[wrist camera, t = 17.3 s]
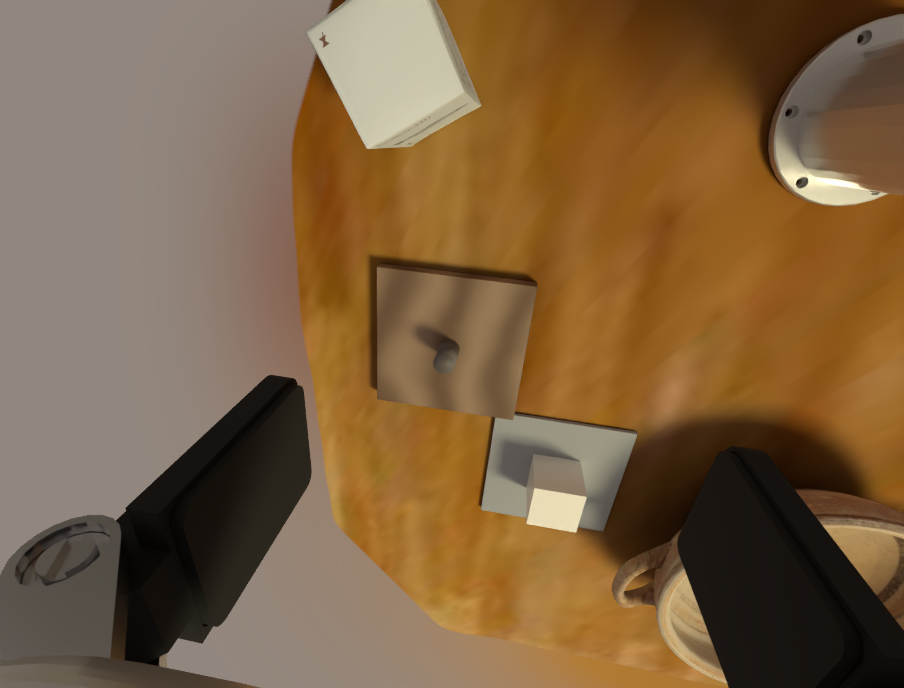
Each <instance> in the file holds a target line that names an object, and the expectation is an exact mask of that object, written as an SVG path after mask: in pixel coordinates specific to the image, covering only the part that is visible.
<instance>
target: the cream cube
mask: <svg viewBox="0 0 904 688" xmlns="http://www.w3.org/2000/svg"><path fill="white" fill-rule="evenodd" d="M586 498H587V495H586V489H585V484H584V478H583V473H582V467H581V461H576V460H570V459H564V458H557V457H551V456H545V455H538V454H533V458H532V462H531V467H530V472H529V477H528V481H527V486H526V520H527V524H530V525H536V526H542V527H547V528H553V529H559V530H564V531H570V532H576V531H577V528H578V524H579V521H580V518H581V515H582V511H583V508H584V505H585V501H586Z"/></svg>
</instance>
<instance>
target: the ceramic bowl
mask: <svg viewBox="0 0 904 688" xmlns="http://www.w3.org/2000/svg"><path fill="white" fill-rule="evenodd" d="M795 490H796V492H797V493H798V494H799V496H800V497H801V498H802V499H803V501H804V502H805V503H806V505H807V506H808V507H809V509H810V510H811V511H812V512H813V514H814V515H815V516H816V518H817V519H818V520H819V521H820V523H821V524H822V525H823V527H824V528H825V529H826V531H827V532H828V533H829V534H830V536H831V537H832V538H833V540H834V541H835V542H836V543H837V545H838V546H839V547H840V549H841V550H842V551H843V552H844V554H845V555H846V556H847V558H848V559H849V560H850V562H851V563H852V564H853V565H854V567H855V568H856V569H857V571H858V572H859V573H860V574H861V576H862V577H863V578H864V580H865V581H866V582H867V584H868V585H869V586H870V587H871V589H872V590H873V591H874V593H875V594H876V595H877V596H878V598H879V599H880V600H881V602H882V603H883V604H884V605H885V607H886V608H887V609H888V611H889V612H890V613H891V615H892V616H893V617H894V618H895V620H896V621H897V622H898V624H899V625H900V626H901V627H902V629H903V630H904V514H903V513H901V512H899V511H897V510H894V509H892V508H889V507H887V506H885V505H882V504H880V503H877V502H875V501H872V500H869V499H865V498H861V497H857V496H853V495H849V494H845V493H840V492H834V491H826V490H817V489H795ZM681 530H682V528H681V529H680V530H679V531H678V532H677V533H676V534H675V535H674V536H673V538H672V539H671V540H670V542H668V543H665V544H663V545H660V546H658V547H655V548H653V549H651V550H648V551H646V552H643V553H641V554H639V555H637V556H635V557H633V558H631V559H630V560H628V561H627V562H625V563H624V564H623V565H622V566H621V567H620V568H619V570H618V572H617V574H616V576H615V578H614V581H613V584H612V592H613V595H614V598H615V600H616V602H617V603H618V604H619V605H620V606H622V607H627V608H630V607H636V606H639V605H645V604H650V605H655V606H656V611H657V615H656V617H657V622H658V626H659V630H660V633H661V635H662V637H663V638H664V640H665V642H666V644H667V645H668V647H669V648H670V649H671V650H672V651H673V652H674V653H675V654H676V655H677V657H679V658H680V659H681V660H683V661H684V662H685V663H687V664H688V665H689V666H691V667H692V668H694V669H695V670H697V671H699V672H701V673H703V674H705V675H706V676H708V677H710V678H713V679H716V680H718V681H721V682H724V683H726V684H727V681H726V679H725V676H724V673H723V671H722V668H721V665H720V663H719V660H718V657H717V655H716V652H715V649H714V647H713V644H712V641H711V639H710V636H709V633H708V631H707V628H706V625H705V623H704V620H703V617H702V615H701V612H700V609H699V607H698V604H697V601H696V599H695V596H694V593H693V591H692V588H691V585H690V583H689V580H688V577H687V575H686V572H685V569H684V567H683V564H682V561H681V559H680V556H679V553H678V547H677V541H678V536H679V534H680V532H681ZM653 568H656V571H655V577H654V580H653V581H652V582H650V583H649V584H647V585H645V586H643V587H640V588H637V589H633V590H630V591H625V589H626V587H627V585H628V584H629V582H630V581H631V580H632V579H633V578H634V577H636V576H637V575H639V574H641V573H643V572H644V571H647V570H649V569H653Z"/></svg>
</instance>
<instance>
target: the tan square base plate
mask: <svg viewBox="0 0 904 688" xmlns="http://www.w3.org/2000/svg"><path fill="white" fill-rule="evenodd" d="M536 291H537V282H532V281H524V280H515V279H507V278H499V277H491V276H483V275H475V274H466V273H458V272H450V271H442V270H434V269H426V268H417V267H409V266H401V265H393V264H385V263H381V264H380V265H379V266H378V267H377V399H380V400H386V401H392V402H399V403H405V404H412V405H418V406H425V407H431V408H437V409H444V410H450V411H457V412H463V413H469V414H476V415H482V416H489V417H495V418H501V419H508V420H513V419H514V413H515V408H516V402H517V397H518V391H519V385H520V380H521V374H522V369H523V363H524V358H525V352H526V347H527V341H528V336H529V330H530V324H531V319H532V313H533V308H534V302H535V297H536Z"/></svg>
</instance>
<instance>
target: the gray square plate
mask: <svg viewBox="0 0 904 688" xmlns="http://www.w3.org/2000/svg"><path fill="white" fill-rule="evenodd" d="M637 435H638V434H637V432H636V431H629V430H623V429H616V428H610V427H603V426H597V425H590V424H584V423H577V422H571V421H564V420H558V419H551V418H545V417H538V416H532V415H525V414H519V413H514V419H513V420H508V419H501V418H495V423H494V429H493V435H492V442H491V448H490V455H489V461H488V468H487V474H486V480H485V487H484V493H483V500H482V506H481V510H485V511H491V512H497V513H502V514H508V515H513V516H519V517H525V518H526V486H527V481H528V477H529V472H530V467H531V462H532V458H533V454H538V455H545V456H551V457H557V458H564V459H570V460H576V461H581V467H582V473H583V478H584V484H585V489H586V495H587V498H586V501H585V505H584V508H583V511H582V515H581V518H580V521H579V524H578V527H581V528H586V529H592V530H597V531H603V530H604V528H605V525H606V522H607V519H608V516H609V514H610V511H611V508H612V505H613V502H614V499H615V497H616V494H617V491H618V488H619V485H620V483H621V480H622V477H623V474H624V471H625V468H626V466H627V463H628V460H629V457H630V454H631V452H632V449H633V446H634V443H635V440H636V438H637Z"/></svg>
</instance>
